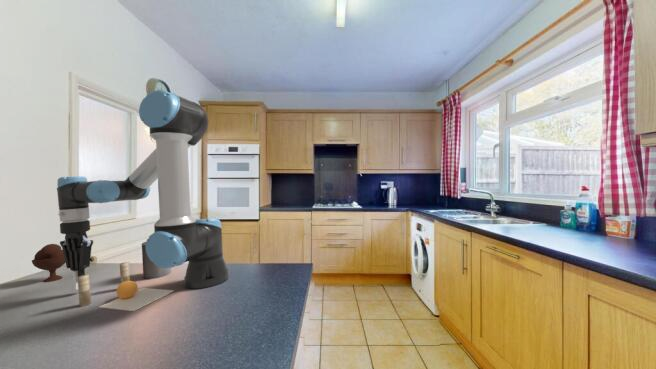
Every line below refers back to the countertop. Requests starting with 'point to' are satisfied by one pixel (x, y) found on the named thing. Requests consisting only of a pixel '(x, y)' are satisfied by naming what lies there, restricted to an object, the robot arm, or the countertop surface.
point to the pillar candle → (152, 266)
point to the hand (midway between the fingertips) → (79, 288)
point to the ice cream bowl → (50, 260)
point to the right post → (124, 272)
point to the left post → (84, 290)
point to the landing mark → (137, 299)
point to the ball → (126, 289)
